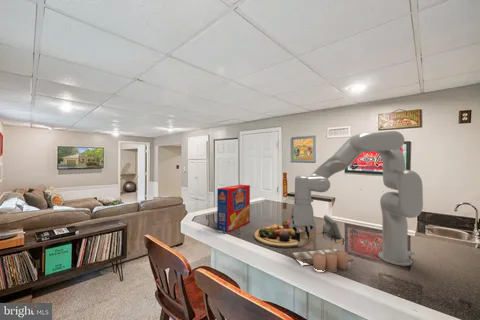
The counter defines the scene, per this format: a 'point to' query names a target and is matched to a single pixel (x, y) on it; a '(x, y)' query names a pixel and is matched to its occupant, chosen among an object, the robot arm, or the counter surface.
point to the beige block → (303, 239)
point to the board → (308, 255)
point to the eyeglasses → (331, 239)
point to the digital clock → (331, 227)
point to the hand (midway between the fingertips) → (302, 239)
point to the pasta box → (233, 207)
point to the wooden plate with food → (277, 236)
